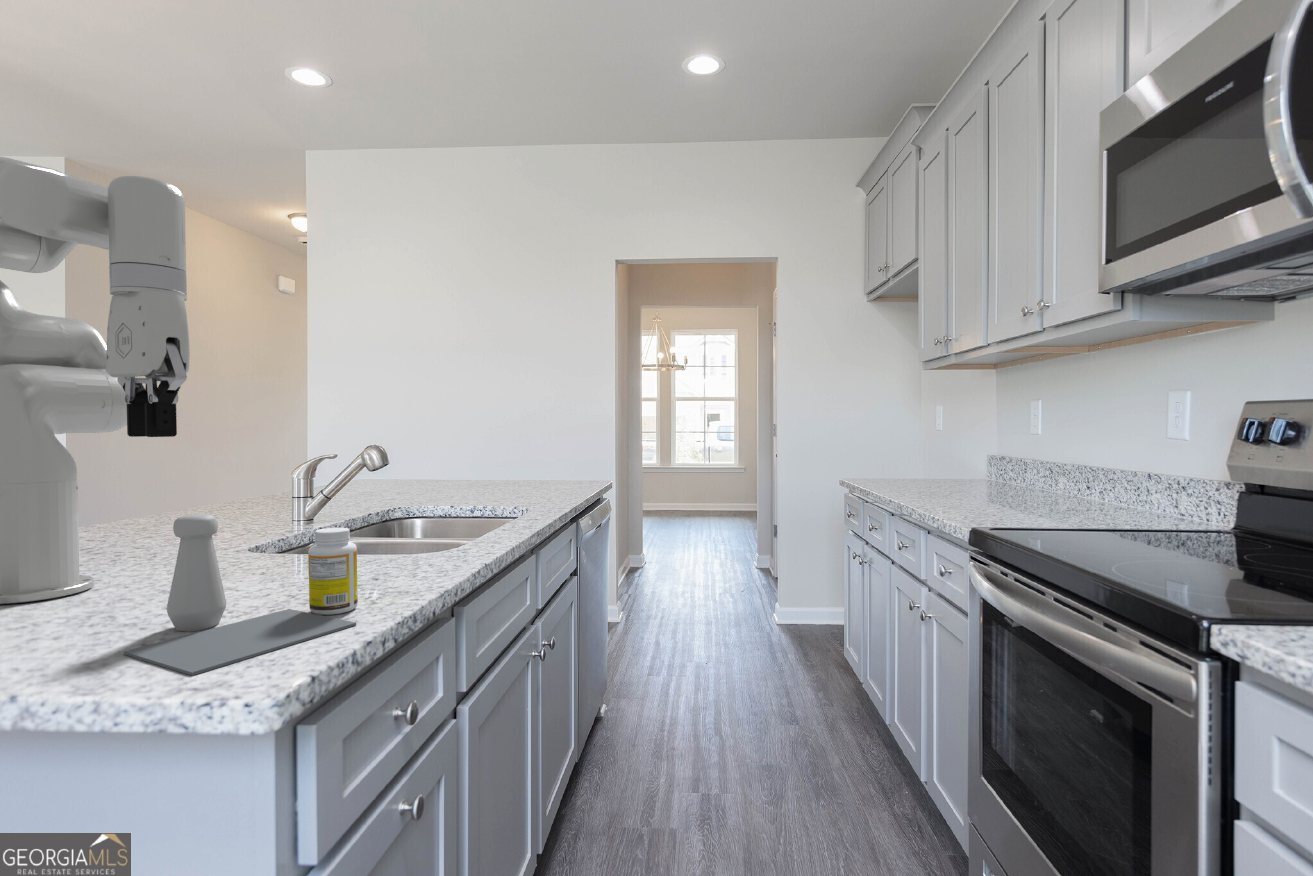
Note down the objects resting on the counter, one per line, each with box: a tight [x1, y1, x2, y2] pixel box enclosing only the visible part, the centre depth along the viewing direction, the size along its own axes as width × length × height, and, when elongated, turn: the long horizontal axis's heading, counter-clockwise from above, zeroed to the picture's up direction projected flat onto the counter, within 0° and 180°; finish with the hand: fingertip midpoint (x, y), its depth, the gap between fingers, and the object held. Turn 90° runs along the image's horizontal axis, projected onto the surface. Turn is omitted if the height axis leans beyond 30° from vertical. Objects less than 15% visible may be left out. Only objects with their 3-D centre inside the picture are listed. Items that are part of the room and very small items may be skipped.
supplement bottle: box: [307, 527, 359, 616], centre depth 87 cm, size 6×6×10 cm
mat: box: [123, 608, 357, 676], centre depth 76 cm, size 12×18×1 cm
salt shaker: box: [165, 513, 227, 633], centre depth 80 cm, size 6×6×13 cm
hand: (152, 435), depth 84 cm, fingers open, 3 cm apart
